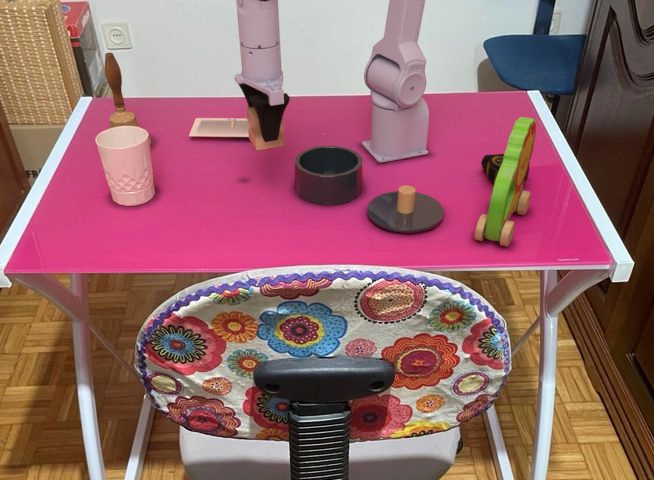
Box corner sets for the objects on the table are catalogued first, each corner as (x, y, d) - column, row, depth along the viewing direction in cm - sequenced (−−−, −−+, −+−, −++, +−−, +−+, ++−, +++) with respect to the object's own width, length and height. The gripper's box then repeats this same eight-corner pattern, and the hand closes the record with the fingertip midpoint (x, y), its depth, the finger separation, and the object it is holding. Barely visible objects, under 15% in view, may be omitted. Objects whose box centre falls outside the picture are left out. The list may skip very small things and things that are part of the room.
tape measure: (519, 170, 121) (523, 149, 119) (532, 189, 116) (536, 168, 114) (479, 171, 121) (482, 151, 118) (490, 191, 116) (493, 170, 113)
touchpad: (272, 142, 130) (271, 131, 128) (189, 141, 130) (187, 130, 129) (276, 124, 136) (275, 113, 134) (196, 123, 136) (195, 112, 135)
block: (275, 134, 114) (274, 103, 111) (284, 145, 111) (282, 114, 108) (248, 138, 113) (246, 107, 110) (256, 150, 110) (254, 119, 106)
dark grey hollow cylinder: (347, 169, 122) (347, 141, 119) (371, 198, 114) (372, 169, 111) (287, 179, 119) (286, 151, 116) (308, 210, 112) (308, 181, 108)
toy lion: (507, 253, 102) (527, 153, 92) (470, 244, 104) (485, 145, 94) (533, 202, 113) (553, 107, 103) (499, 194, 115) (515, 101, 105)
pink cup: (167, 188, 117) (157, 129, 111) (143, 211, 112) (131, 151, 105) (125, 180, 119) (113, 122, 113) (99, 203, 114) (84, 144, 107)
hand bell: (97, 153, 127) (76, 61, 116) (114, 133, 133) (96, 44, 123) (142, 156, 126) (125, 64, 115) (157, 136, 132) (142, 46, 122)
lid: (422, 191, 116) (424, 166, 113) (456, 227, 108) (460, 200, 105) (355, 204, 113) (356, 178, 110) (385, 242, 105) (387, 215, 102)
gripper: (219, 30, 106) (228, 118, 115) (246, 63, 96) (253, 157, 105) (265, 24, 108) (271, 112, 117) (296, 56, 98) (299, 149, 107)
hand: (265, 133), depth 111 cm, fingers closed on block, 4 cm apart
